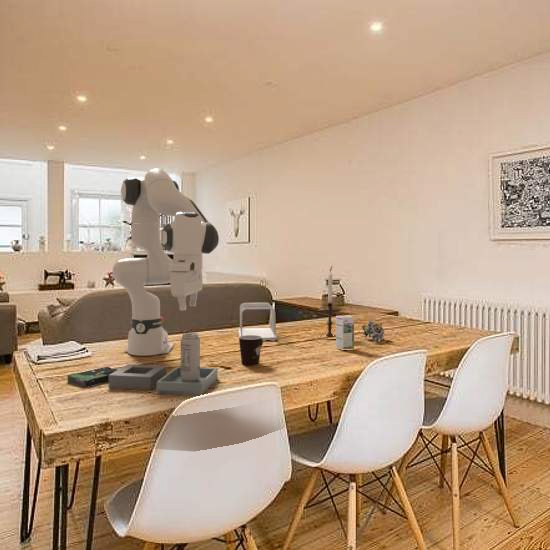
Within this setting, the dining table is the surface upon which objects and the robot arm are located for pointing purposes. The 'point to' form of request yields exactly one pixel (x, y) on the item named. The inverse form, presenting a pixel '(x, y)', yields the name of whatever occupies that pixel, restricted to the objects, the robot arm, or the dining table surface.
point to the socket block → (137, 376)
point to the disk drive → (91, 377)
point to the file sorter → (263, 332)
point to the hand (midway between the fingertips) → (188, 308)
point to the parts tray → (177, 386)
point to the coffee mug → (250, 349)
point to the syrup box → (345, 332)
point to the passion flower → (374, 331)
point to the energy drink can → (190, 357)
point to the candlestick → (329, 306)
